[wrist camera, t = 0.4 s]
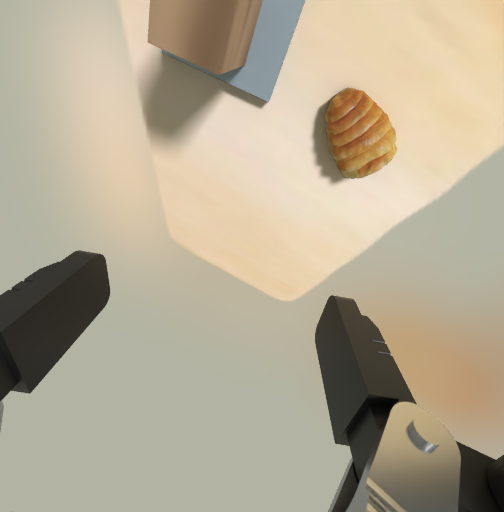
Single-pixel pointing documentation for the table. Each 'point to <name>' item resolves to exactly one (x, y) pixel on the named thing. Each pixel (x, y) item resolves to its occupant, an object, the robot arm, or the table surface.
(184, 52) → the built pillar
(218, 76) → the board
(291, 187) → the table surface
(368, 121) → the pastry
